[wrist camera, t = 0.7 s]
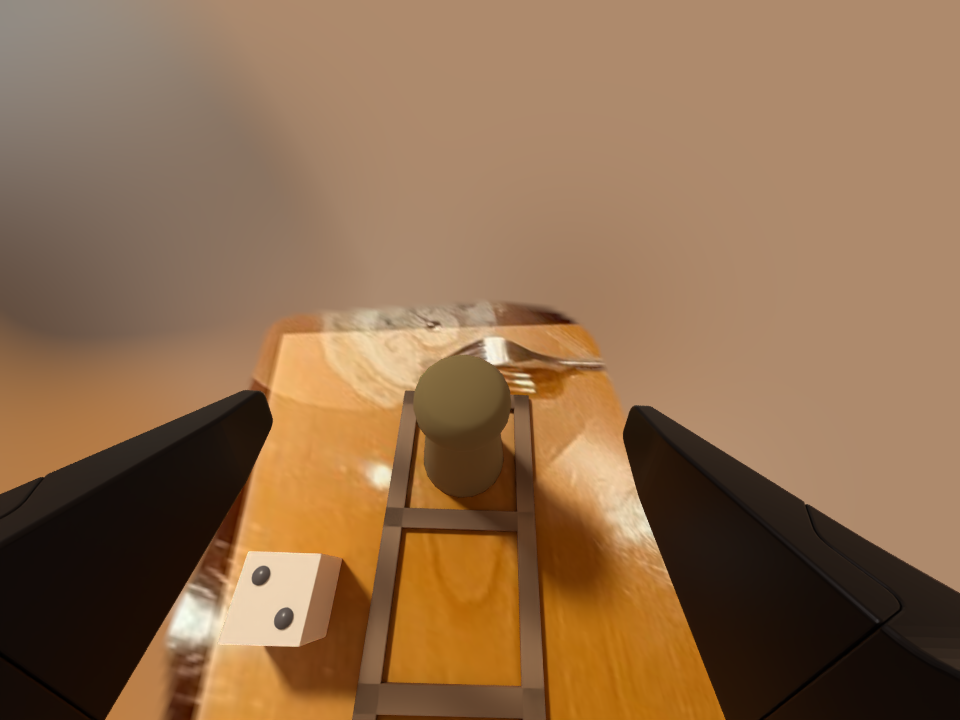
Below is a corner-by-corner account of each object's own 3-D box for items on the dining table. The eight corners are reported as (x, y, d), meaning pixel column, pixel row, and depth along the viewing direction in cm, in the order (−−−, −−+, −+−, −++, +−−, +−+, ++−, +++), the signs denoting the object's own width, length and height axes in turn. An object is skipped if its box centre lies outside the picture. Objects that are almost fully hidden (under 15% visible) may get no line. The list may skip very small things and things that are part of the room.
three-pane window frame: (560, 1029, 14) (563, 1040, 14) (305, 1025, 14) (301, 1036, 14) (527, 397, 29) (528, 395, 29) (405, 392, 29) (405, 390, 29)
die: (326, 636, 20) (298, 646, 17) (257, 634, 20) (215, 644, 17) (342, 558, 23) (320, 553, 19) (280, 556, 23) (247, 551, 19)
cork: (505, 422, 28) (524, 342, 19) (500, 501, 25) (521, 452, 16) (431, 414, 28) (413, 331, 19) (416, 492, 25) (386, 438, 16)
